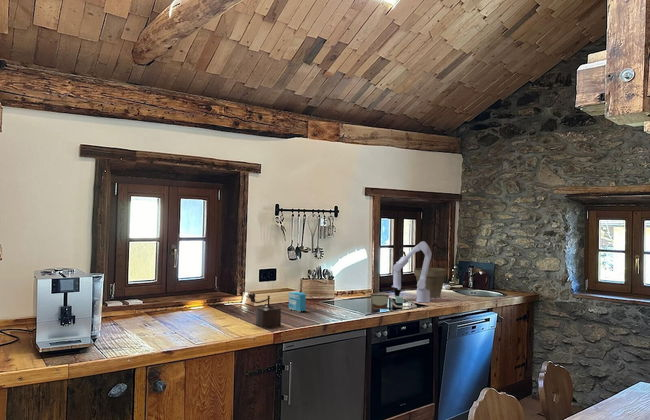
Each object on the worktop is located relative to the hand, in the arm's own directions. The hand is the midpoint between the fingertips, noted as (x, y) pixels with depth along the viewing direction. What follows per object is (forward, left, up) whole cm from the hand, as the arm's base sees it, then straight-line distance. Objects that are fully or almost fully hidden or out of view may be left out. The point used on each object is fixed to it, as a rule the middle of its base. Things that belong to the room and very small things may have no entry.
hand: (397, 298), depth 351 cm
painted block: (0, +7, -2) cm, 8 cm away
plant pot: (-31, -20, -2) cm, 37 cm away
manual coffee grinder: (+94, +83, -2) cm, 126 cm away
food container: (+19, +31, -2) cm, 37 cm away
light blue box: (+75, +40, -2) cm, 85 cm away
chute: (0, +16, -2) cm, 16 cm away
